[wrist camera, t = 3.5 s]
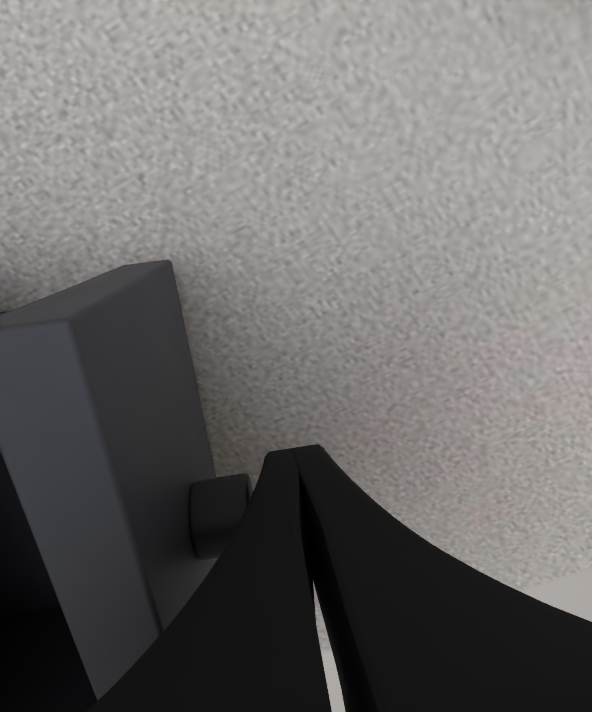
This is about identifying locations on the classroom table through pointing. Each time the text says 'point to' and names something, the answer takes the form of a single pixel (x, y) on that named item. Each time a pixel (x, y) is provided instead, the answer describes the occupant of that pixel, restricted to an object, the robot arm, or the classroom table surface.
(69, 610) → the drawer
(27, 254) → the classroom table surface
